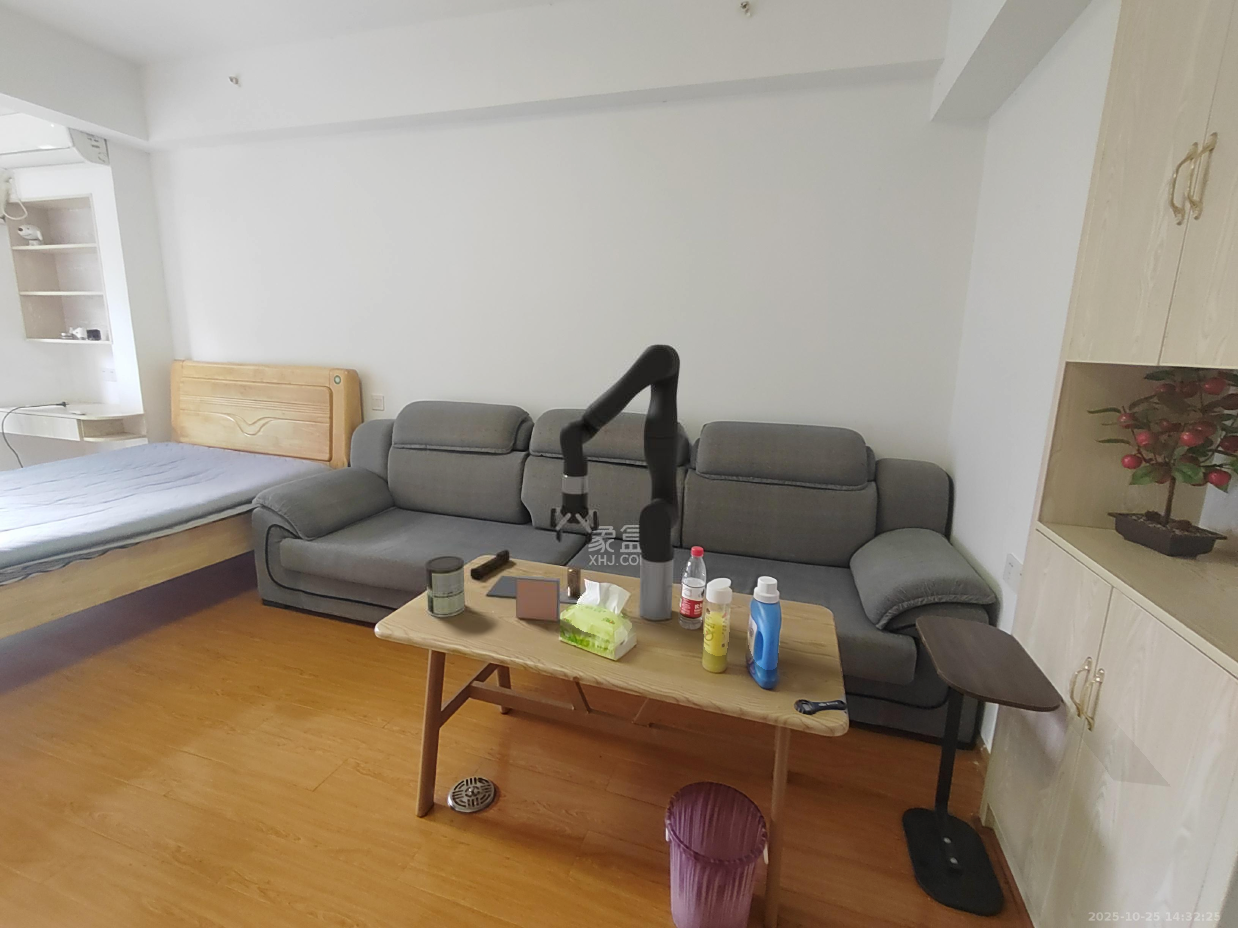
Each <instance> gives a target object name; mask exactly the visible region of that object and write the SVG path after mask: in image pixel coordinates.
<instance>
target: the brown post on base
mask: <svg viewBox="0 0 1238 928" xmlns="http://www.w3.org/2000/svg"><path fill="white" fill-rule="evenodd" d="M581 570H582V568H581V567H579V566H569V567H568V568H567V570H566V571H567V581H566V587H563V588H562V590H561V591H560V603H564V604H574V603H576V602H577V601H578V599H579V598H580V596H582V594H583V593H584V592H585V589H586V588H582V587H581V574H582V571H581Z"/></svg>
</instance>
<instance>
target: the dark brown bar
mask: <svg viewBox="0 0 1238 928" xmlns="http://www.w3.org/2000/svg"><path fill="white" fill-rule="evenodd" d="M510 558H511V557H510V551H509V550H508V549H504V550H502V551H499V552H497V553H496V556H495V557H492V558H490V559H489V560H487V561H486V562H483V563H482V564H480V565H477V566H476V567H473V568H471V569H470V572H469V573H470V575H469V576H470V577H471V579H472V580H476V581H478V580H481V579H482V578H483V576H485V575H487V574H488V573H491V572H493V570H495V569H497V568H499V567H504V566H506V565H507V564H508V562H509V561H510Z"/></svg>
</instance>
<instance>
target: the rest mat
mask: <svg viewBox="0 0 1238 928" xmlns="http://www.w3.org/2000/svg"><path fill="white" fill-rule="evenodd" d="M516 577H517V576H510V575H501V576H500V577H499V579H497V581H496V582H495V583H494V584H493V585H492V587H491V588H490V589H489V590H488V592H486V595H485V596H486V597H493V598H506V599H516Z"/></svg>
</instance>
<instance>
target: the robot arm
mask: <svg viewBox="0 0 1238 928" xmlns="http://www.w3.org/2000/svg"><path fill="white" fill-rule="evenodd" d="M680 368H681V359H680V356H679V352H678V351H677V350H676V349H675V348H673V347H672V346H671V345H669V344H653V345H650V346H648V347H647V348H646V349H645V350H644V351H642V353H641V354H640V355H639V356H638V358H637V359H636V360H635V362H634V363H633V364H632V365H631V367H629V369H628V370H627V371H626V372H625V373H624V374H623V375H622V376H621V377H620V379H618V380H617V381H616V382H615V383H614V384H613V385H612V386H610V387H609V388H608V389H607V390H605V392H603V393H602V394H600V396H599V397H597V398H596V399H595V400H594V401H593V402H592V403H591V404H590V405H589V406H587V407H586V409H585V410H584V413H583V414H582V415H581V416H580V417H579V418H577V419H576V420H574V421H573V420H572V421H570V422H566V423H565V424H564V425H563V426H562V427H561V429H560V433H559V444H560V449H561V454H562V459H563V469H562V472H563V474H562V480H561V481H562V483H561V507H557V506H556V505H554V506H553V507H552V508H551V509H550V518H549V521H550V522H549V528H552V529H555V533H556V534H555V537H556V541H557V542H558V543H562V542H563V528H562V527H563V526H564V525H565V524H566V523H568V524H576V525H579V524H581V525H582V527H583V528H584V529H585V530H586V545H590V543H592V541H593V534H594V533H593V532H597V531H599V530H598V529H599V528H600V519H599V518H600V517H599V516H600V515H599V513H600V512H599V508H596V509H595V508H594V509H589V476H588V475H589V473H588V472H589V470H588V468H589V459H588V456H587V455H586V454H584V451H583V449H584V448H583V445H584V444H586V443H588V442H589V441H591V440H592V439H593V438H594V437H595V436H596V435H597V434H598V433H599V432H600V430H601V429H602V428H603V427H605V426H606V425H607V424H609V423H610V422H611V421H612V420H614V419H615V418H616V417H617V416H618V415H619V414H621V412H622V411H624V410H625V408H626V407H627V406H628V404H629V403H630V402H631V401H633V400H634V398H635V397H636V396H637V395H638V394H640V393H641V392H643V390H645V389H646V388H648V387H650V398H649V399H650V401H649V404H648V405H649V406H648V409H647V413H646V418H645V421H644V427H643V454H644V455H643V456H644V460H645V463H646V466H647V469H648V472H649V474H650V480H651V481H650V483H651V493H650V502H649V504H647V505H645V506H644V507H643V508H642V510H641V512H640V513H639V517H638V518H639V519H638V546H639V549H640V568H639V569H640V573H639V600H638V602H639V603H638V613H639V614H638V615H640V616H641V617H642V618H643V619H646V620H649V621H655V622H656V621H664V620H671V619H672V608H673V607H672V606H673V605H672V604H673V588H674V587H673V586H674V561H675V559H674V558H675V548H674V547H673V545H672V543H671V541H672V539H671V538H672V536H671V535H672V529H673V528H675V526H677V523H678V521H679V517H680V507H679V499H678V498H679V497H678V490H677V489H678V486H677V477H678V476H677V475H678V473H677V472H678V450H679V449H678V447H679V443H678V442H679V435H678V434H679V433H678V402H677V401H678V399H677V396H678V385H679V377H680ZM559 513H560V515H562V517H563V518H562V519H561V520H560V521H559V523H557V516H558V515H559ZM589 515H590V517H591V518H592V519H593V520H592V521H593V525H592V524H591V523H590V520H589V519H588V518H587V517H588V516H589Z"/></svg>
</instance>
